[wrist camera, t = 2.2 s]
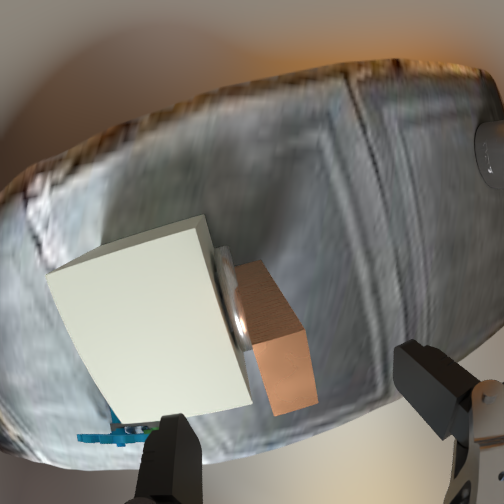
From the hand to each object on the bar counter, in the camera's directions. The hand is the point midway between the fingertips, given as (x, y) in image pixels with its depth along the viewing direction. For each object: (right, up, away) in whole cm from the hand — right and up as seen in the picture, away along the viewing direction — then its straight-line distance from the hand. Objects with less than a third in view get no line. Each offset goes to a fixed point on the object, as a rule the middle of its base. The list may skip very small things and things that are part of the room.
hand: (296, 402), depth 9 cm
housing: (-9, +2, +16) cm, 18 cm away
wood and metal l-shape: (-5, +2, +15) cm, 16 cm away
